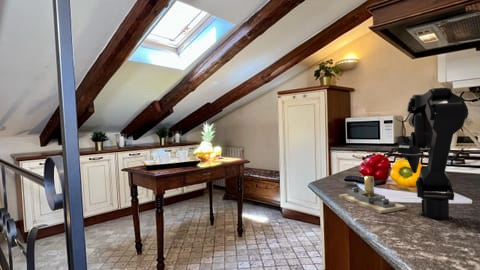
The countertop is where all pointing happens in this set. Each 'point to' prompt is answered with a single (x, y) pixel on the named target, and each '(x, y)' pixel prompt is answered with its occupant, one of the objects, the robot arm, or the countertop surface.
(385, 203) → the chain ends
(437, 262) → the countertop surface
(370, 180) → the brass pin
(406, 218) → the countertop surface
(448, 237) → the countertop surface
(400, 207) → the wooden board
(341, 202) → the countertop surface
